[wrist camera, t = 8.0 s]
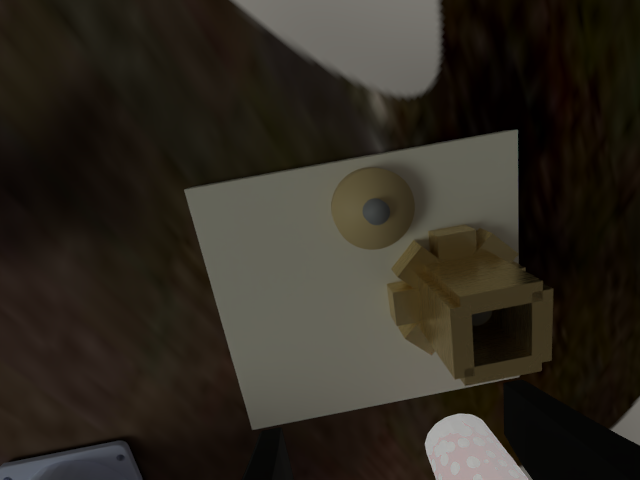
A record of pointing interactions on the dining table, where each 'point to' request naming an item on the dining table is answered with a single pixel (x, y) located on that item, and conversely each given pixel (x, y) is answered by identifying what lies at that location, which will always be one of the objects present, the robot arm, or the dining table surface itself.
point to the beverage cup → (468, 451)
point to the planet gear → (472, 305)
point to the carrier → (342, 269)
